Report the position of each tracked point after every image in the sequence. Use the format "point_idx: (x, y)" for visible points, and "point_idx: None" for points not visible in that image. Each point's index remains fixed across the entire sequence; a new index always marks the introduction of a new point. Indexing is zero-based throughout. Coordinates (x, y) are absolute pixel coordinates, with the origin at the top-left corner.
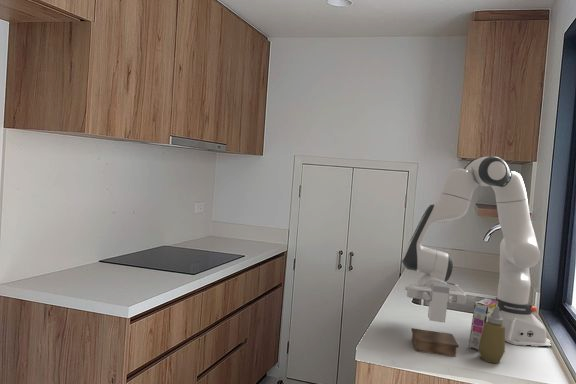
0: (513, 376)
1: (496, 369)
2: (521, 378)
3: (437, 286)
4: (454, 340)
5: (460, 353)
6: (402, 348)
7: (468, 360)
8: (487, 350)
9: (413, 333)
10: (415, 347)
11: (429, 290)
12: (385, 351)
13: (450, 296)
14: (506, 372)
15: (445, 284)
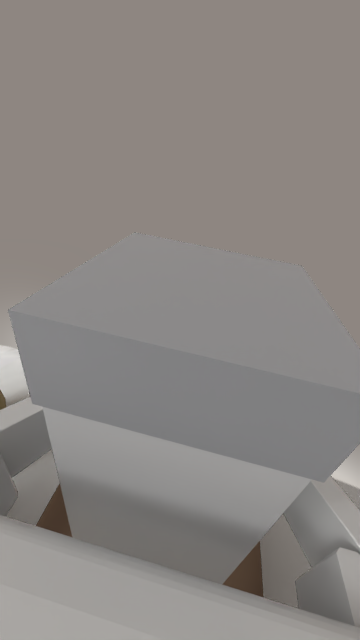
0: (19, 354)
1: (26, 383)
2: (8, 347)
3: (260, 261)
4: (59, 497)
5: (37, 509)
6: (286, 529)
7: None
8: (2, 395)
9: (262, 590)
10: None
11: (321, 628)
12: (338, 480)
13: (3, 421)
14: (14, 370)
15: (84, 293)
